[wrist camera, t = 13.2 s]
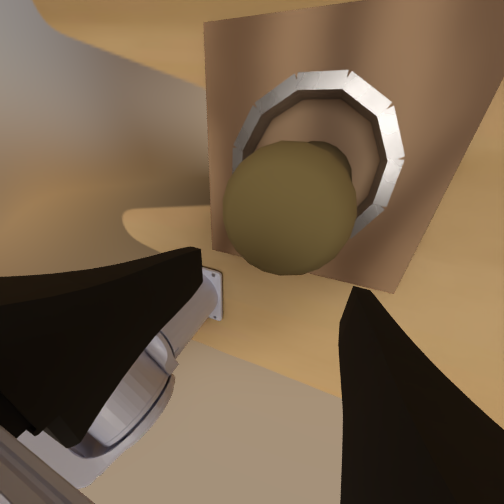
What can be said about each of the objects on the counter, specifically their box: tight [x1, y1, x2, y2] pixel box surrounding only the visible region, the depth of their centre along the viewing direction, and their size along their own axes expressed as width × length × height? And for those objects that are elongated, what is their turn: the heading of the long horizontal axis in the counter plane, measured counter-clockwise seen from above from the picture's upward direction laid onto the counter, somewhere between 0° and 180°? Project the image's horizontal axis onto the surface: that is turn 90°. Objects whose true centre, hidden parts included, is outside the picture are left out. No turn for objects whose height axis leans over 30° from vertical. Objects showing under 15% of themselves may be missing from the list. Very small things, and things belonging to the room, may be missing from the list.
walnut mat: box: [204, 0, 504, 294], centre depth 16 cm, size 18×18×1 cm
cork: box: [223, 140, 357, 275], centre depth 11 cm, size 6×6×11 cm
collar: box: [232, 70, 405, 239], centre depth 14 cm, size 11×11×2 cm
